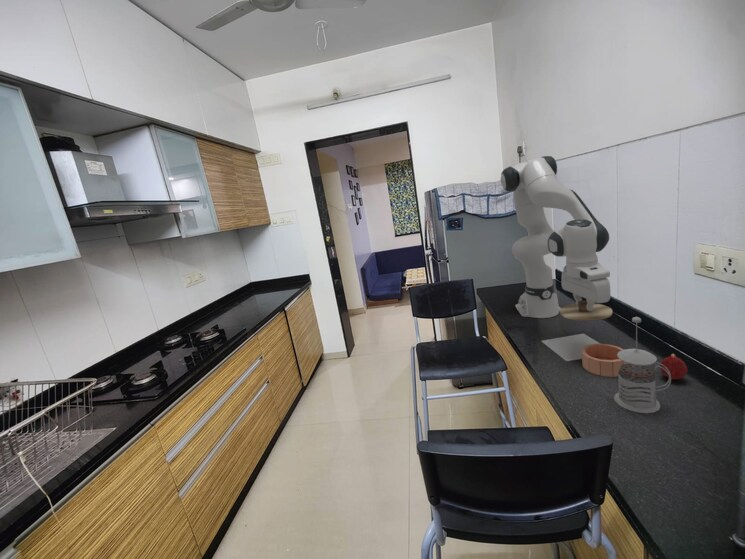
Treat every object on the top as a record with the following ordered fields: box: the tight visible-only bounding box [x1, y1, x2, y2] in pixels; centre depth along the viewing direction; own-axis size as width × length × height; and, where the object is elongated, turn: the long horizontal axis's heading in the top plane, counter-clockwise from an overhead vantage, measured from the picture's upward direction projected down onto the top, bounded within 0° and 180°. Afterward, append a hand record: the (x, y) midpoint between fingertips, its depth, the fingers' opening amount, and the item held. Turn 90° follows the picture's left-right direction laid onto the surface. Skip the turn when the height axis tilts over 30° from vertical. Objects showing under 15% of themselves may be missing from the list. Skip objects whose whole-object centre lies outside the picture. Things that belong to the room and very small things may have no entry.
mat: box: [541, 333, 601, 362], centre depth 118 cm, size 17×17×1 cm
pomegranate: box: [659, 353, 688, 380], centre depth 91 cm, size 6×6×8 cm
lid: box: [559, 299, 613, 322], centre depth 107 cm, size 15×15×4 cm
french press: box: [613, 316, 672, 414], centre depth 83 cm, size 10×12×25 cm
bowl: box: [581, 343, 628, 378], centre depth 102 cm, size 12×12×6 cm
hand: (584, 307), depth 107 cm, fingers closed on lid, 3 cm apart
